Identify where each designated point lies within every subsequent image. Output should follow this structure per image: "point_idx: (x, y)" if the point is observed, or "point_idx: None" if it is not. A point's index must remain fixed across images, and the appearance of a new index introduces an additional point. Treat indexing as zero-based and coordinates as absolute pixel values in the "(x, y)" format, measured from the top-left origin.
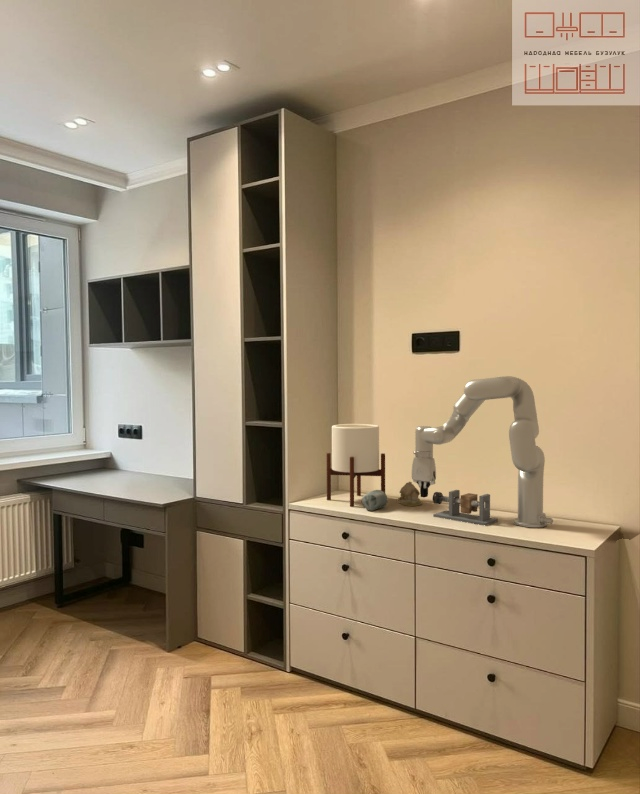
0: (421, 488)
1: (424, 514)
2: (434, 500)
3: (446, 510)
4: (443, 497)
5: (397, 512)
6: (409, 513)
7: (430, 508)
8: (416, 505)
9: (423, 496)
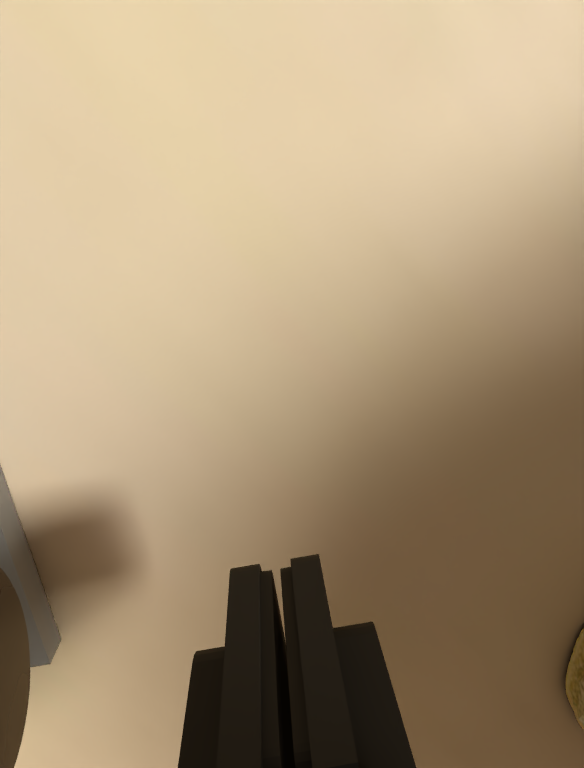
0: (314, 756)
1: (153, 356)
2: None
3: (42, 662)
4: None
5: (528, 127)
6: (347, 228)
7: None
8: (580, 634)
9: (234, 577)
